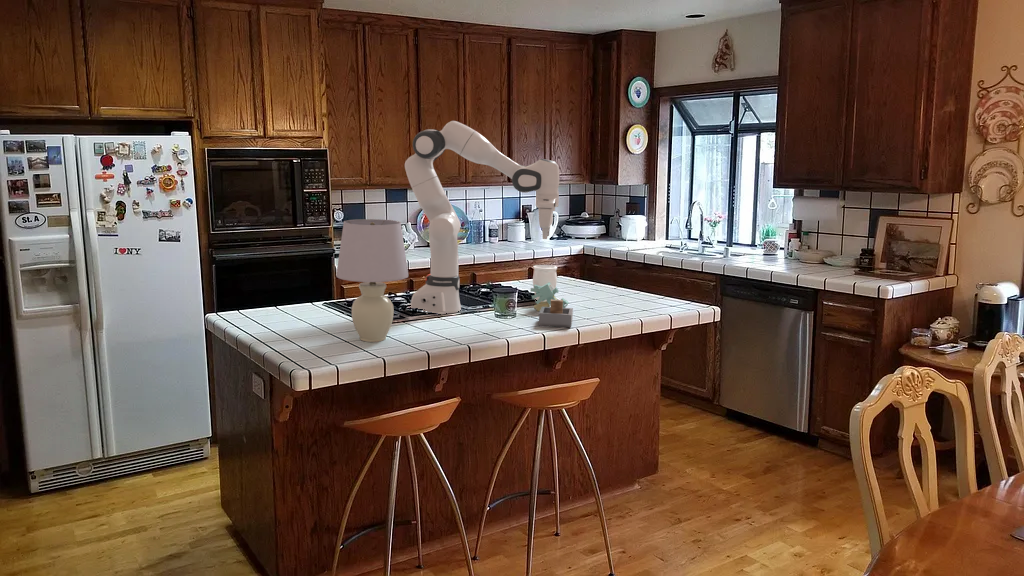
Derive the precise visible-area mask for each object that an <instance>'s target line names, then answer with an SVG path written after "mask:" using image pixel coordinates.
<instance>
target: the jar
mask: <svg viewBox="0 0 1024 576" xmlns="http://www.w3.org/2000/svg"><path fill="white" fill-rule="evenodd" d="M532 268H533V269H534V271H533V276H532V288H534V285H538V286H543V285H545V284H547V283H549V282H550V284H551V285H552V287H553V289H555V288H556V287H557V282H558V279H557V278H558V276H557V270H558V266H556V265H551V264H535V265H533V267H532ZM533 293H534V295H536V292H533ZM539 298H540V296H539V297H537V298H534V300H535V299H536V300H538V299H539ZM536 300H535V301H536ZM545 301H547V300H544V301H541V302H545Z"/></svg>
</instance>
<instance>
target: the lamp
mask: <svg viewBox="0 0 1024 576" xmlns="http://www.w3.org/2000/svg"><path fill="white" fill-rule="evenodd" d="M342 224H343V225H342V232H341V240H340V246H339V252H338V253H339V254H338V260H337V267H336V274H335V276H336V278H338V279H340V280H344V281H348V282H359V285H358V288H359V290H360V294H361V295H360V296H357V298H355V300H354V301H353V303H352V305H351V318H352V323H353V326H354V328H355V331H356V333H357V335H358V336H359V339H360V341H362V342H367V343H376V342H377V343H378V342H384V341H385V340H386V339H387V335H388V334H389V331H390V329H391V327H392V324H393V320H394V314H395V313H394V312H395V311H394V309H395V308H394V304H393V302H392V301H391V299H390V298H389V297H387V296H386V295H385V294H384V293H385V292H386V288H387V284H386V283H385V282H396V281H402V280H406V279H407V278H409V270H408V269H409V268H408V264H407V263H408V262H407V255H406V250H405V248H406V247H405V242H404V236H403V230H402V222H401V221H398V220H392V219H381V218H380V219H376V218H375V219H374V218H372V219H371V218H370V219H369V218H367V219H366V218H365V219H349V220H348V219H347V220H344V221H343V223H342ZM360 282H361V283H360Z"/></svg>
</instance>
